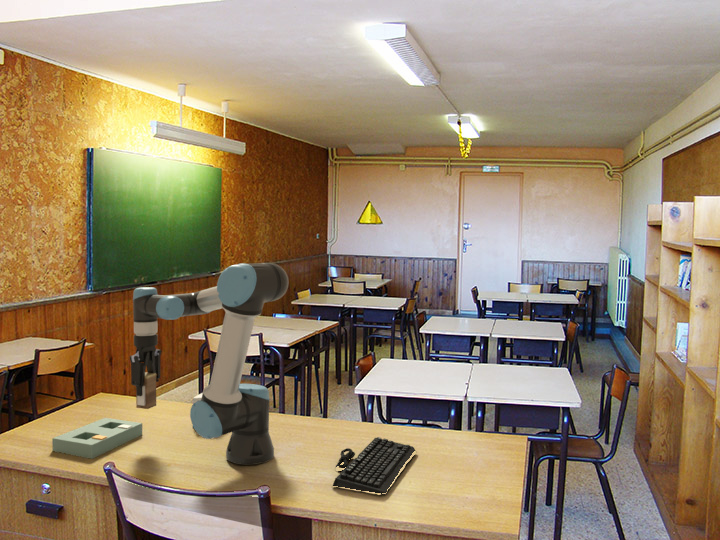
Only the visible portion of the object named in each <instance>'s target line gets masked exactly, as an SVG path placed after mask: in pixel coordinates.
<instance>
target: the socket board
mask: <svg viewBox="0 0 720 540" xmlns="http://www.w3.org/2000/svg"><path fill="white" fill-rule="evenodd" d="M142 435H143V423H142V422H136V421H130V420H122V419H117V418H110V417H103V418H101V419H97V420H96V421H93V422H91V423H89V424H86V425H83V426H81V427H78V428H75V429H73V430H70V431H68V432H64V433H62V434H60V435H57V436H55V437H53V438H52V437H51V441H52V442H51V447H52V449H51V450H52V452H53V451H55V452H54V453H59V452H62V453H61V454H64V453H66V454H65V455H69V454H71V455H70V456H75V455H76V456H75V457H80V456H81V458H86V459H91V460H93V459H95V458H96V457H99V456H102V455H103V454H105V453H107V452H110V451H111V450H113V449H116V448H117V447H120V446H122V445H123V444H126V443H128V442H131V441H132V440H134V439H136V438H139V437H141V436H142Z"/></svg>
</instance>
